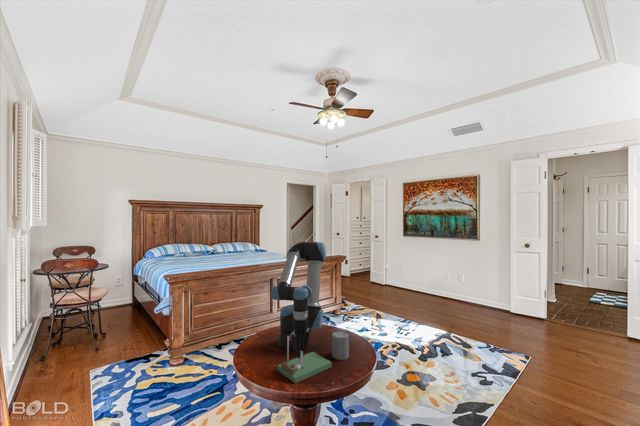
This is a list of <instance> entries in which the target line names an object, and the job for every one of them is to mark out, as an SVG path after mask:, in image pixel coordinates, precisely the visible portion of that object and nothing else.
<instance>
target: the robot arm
mask: <svg viewBox="0 0 640 426" xmlns="http://www.w3.org/2000/svg"><path fill="white" fill-rule="evenodd" d="M285 258H286V261H285V263H284V266H283V270H282V272H281V275H280V278H279V280H278V281H279V282H278V283H277V285H274V286H272V288H271V291H270V296H271V299H272V300H276V301H290V302H292V301H293V302H292V303H293V304H289V305H285V306H283V307H282V308H281V309H280V315H279V320H280V321H279V323H280V324H279V325H280V327H279V328H280V329H279V334H278V338H277V342H276V344H277V346H278V347H279V348H281V349H285V350H286V349H287V336H290V337H291V340H290V341H289V349H290V350H291V349H293V350H292V351H294V352H296V358H298V363H299V364H303V356H304V355H305V351H306V349H308V345H309V340H310V335H311V332H312V330H319V329H321V328H322V327H321V326H322V324H323V319H324V309H323V308H322V305H321V304H320V293H321V292H320V291H321V290H320V289H321V268H322V266H323V264H324V261H326V258H327V252H326V246H325V243H324V242H319V241H300V242H297V243H295V244H293V245H292V246H291V247H290V248H289V249H288V251H287V253H286V256H285ZM301 260H304V261H305V263H306V264H307V270H306V271H307V272H306V285H302V286H292V285H293V281H294V277H295V273H296V271H297V268H298V264H299V263H300V262H301Z"/></svg>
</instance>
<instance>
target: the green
mask: <svg viewBox="0 0 640 426" xmlns="http://www.w3.org/2000/svg"><path fill="white" fill-rule="evenodd" d="M290 340H291V337H290V336H287V350H286V356H287V357H286V361H285V362H284V361H282V362H281V363H280V364H278V365H277V368H276V370H277V371H278V372H279V373H281V374H282V375H283V376H285V377H286V378H287V379H289V380H291V381H292V382H293V383H294V384H297V383H299V382H302V381H304V380H306V379H309V378H311V377H313V376H315V375H318V374H319V373H321V372H324V371H326V370H328V369H331V368H332V367H333V362H332V361H331V360H328V359H326V358H325V357H323V356H321V355H320V354H318V353H316V352H314V351H311V352H308V353H306V354H305V353H304V356H303V364H300V365H301V369H300V370H298V371H295V369H293V367H294V365H295V364H297V363H298V357H295V358H293V359H290V356H289V355H290V352H289V351H290V350H289V341H290ZM298 364H299V363H298Z"/></svg>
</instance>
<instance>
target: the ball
mask: <svg viewBox="0 0 640 426" xmlns="http://www.w3.org/2000/svg"><path fill="white" fill-rule="evenodd" d="M293 369H295V371H298V370H300V369H301V365H300V364H298V363H297V364H295V365H294V367H293Z"/></svg>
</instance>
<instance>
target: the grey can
mask: <svg viewBox="0 0 640 426" xmlns="http://www.w3.org/2000/svg"><path fill="white" fill-rule="evenodd" d="M331 335H332V342H331V343H332V344H331V345H332V347H331V350H332V351H331V352H332V353H331V356H332V358H334V359H335V360H339V361H343V360H347V359H348V358H349V357H350V355H349V352H350V351H349V349H350V346H349V344H350V343H349V339H350V337H349V336H350V334H349V333H348V332H346V331H343V330H342V331H341V330H338V331H334V332H332V334H331Z"/></svg>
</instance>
